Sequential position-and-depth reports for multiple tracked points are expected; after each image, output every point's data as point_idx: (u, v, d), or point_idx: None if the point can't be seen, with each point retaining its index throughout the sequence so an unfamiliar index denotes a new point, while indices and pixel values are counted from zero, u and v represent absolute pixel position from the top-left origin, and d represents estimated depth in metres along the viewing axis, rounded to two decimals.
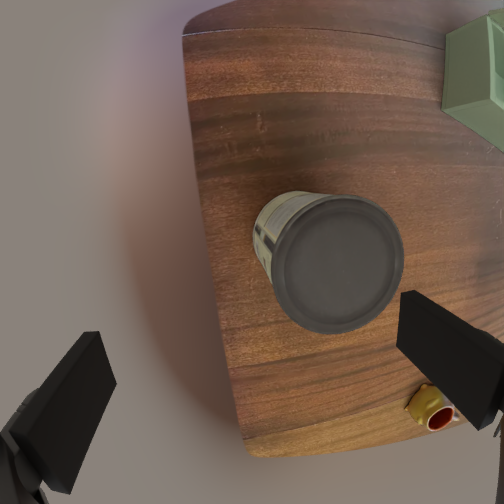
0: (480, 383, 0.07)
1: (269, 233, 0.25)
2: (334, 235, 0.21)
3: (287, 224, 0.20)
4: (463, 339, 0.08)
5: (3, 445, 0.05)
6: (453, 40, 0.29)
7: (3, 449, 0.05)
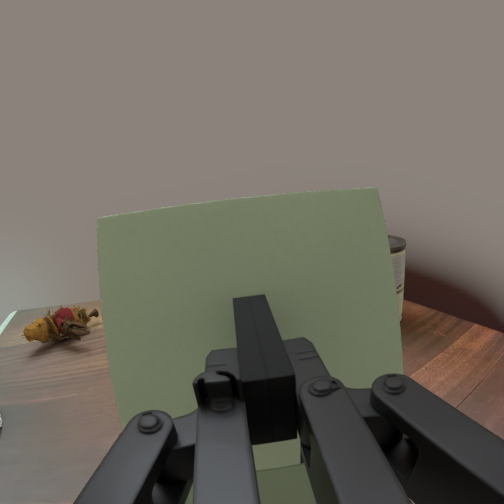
0: None
1: None
2: (389, 243, 0.48)
3: (405, 241, 0.48)
4: None
5: (243, 406, 0.07)
6: None
7: (242, 411, 0.07)
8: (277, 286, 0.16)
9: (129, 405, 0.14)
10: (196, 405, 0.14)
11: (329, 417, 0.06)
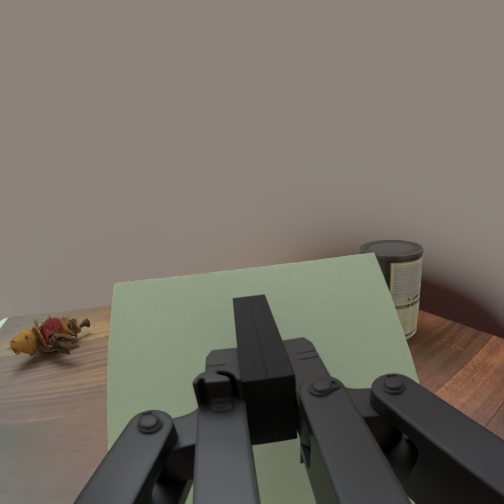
0: None
1: None
2: (405, 249, 0.43)
3: (422, 247, 0.43)
4: None
5: (243, 406, 0.07)
6: None
7: (242, 411, 0.07)
8: None
9: None
10: None
11: (329, 417, 0.06)
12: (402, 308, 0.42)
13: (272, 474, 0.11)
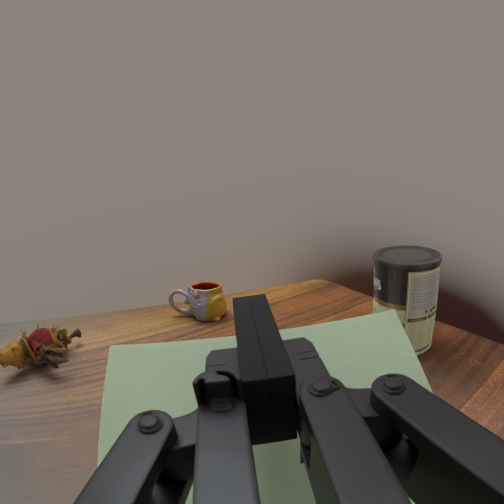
0: None
1: None
2: (423, 257, 0.38)
3: (440, 254, 0.39)
4: None
5: (243, 406, 0.07)
6: None
7: (242, 411, 0.07)
8: None
9: None
10: None
11: (329, 417, 0.06)
12: (419, 321, 0.37)
13: None
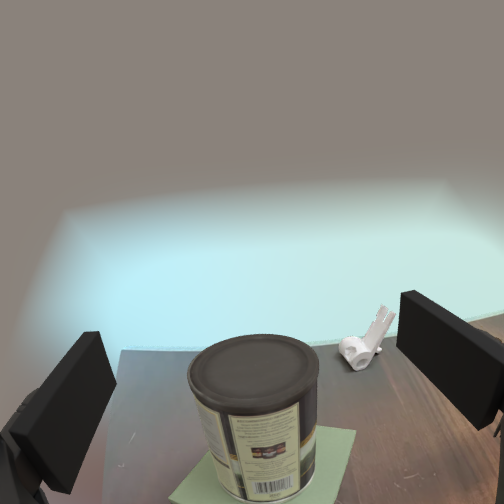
0: (480, 383, 0.07)
1: (223, 441, 0.20)
2: (220, 370, 0.23)
3: (198, 395, 0.20)
4: (463, 339, 0.08)
5: (3, 445, 0.05)
6: None
7: (3, 449, 0.05)
8: None
9: None
10: None
11: None
12: None
13: None
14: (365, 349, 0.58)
